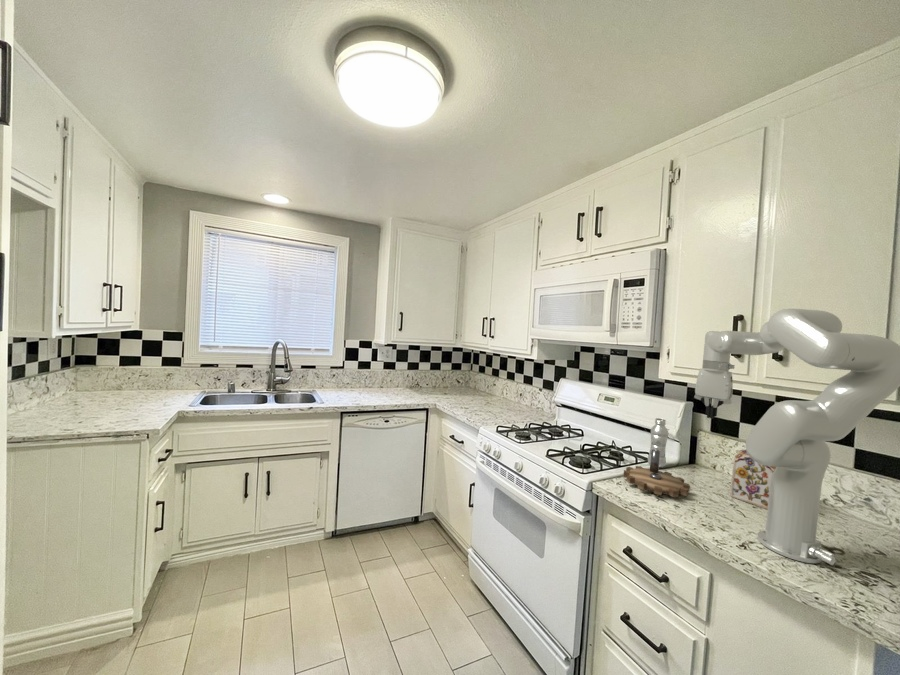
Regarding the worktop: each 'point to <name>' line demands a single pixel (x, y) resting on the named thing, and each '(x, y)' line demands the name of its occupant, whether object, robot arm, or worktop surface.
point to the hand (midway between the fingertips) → (710, 417)
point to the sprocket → (656, 478)
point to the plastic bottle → (659, 440)
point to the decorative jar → (751, 480)
